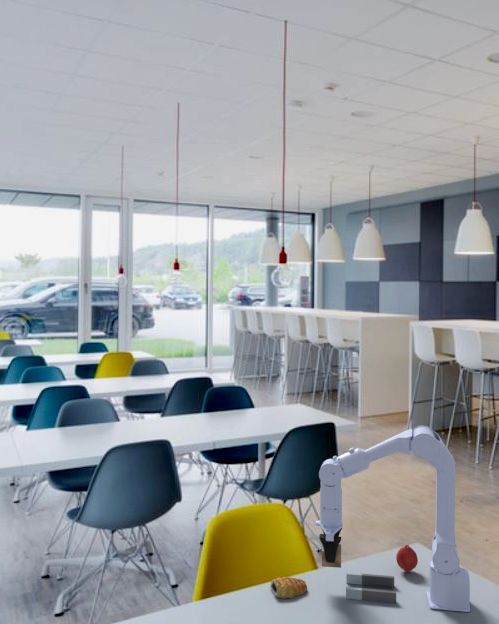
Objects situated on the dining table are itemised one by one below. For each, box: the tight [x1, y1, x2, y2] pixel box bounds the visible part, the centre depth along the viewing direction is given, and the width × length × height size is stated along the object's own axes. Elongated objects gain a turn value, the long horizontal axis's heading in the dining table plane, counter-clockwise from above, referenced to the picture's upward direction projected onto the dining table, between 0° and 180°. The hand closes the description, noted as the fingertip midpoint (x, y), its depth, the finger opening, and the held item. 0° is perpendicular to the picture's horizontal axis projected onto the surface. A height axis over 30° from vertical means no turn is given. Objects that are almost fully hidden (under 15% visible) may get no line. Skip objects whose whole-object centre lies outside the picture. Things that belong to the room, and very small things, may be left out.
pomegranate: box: [395, 543, 419, 573], centre depth 162 cm, size 6×6×8 cm
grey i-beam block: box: [345, 571, 397, 604], centre depth 151 cm, size 12×9×2 cm
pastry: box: [269, 576, 308, 600], centre depth 152 cm, size 9×7×4 cm
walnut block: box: [321, 543, 342, 569], centre depth 153 cm, size 5×5×4 cm
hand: (331, 557), depth 153 cm, fingers closed on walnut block, 5 cm apart
